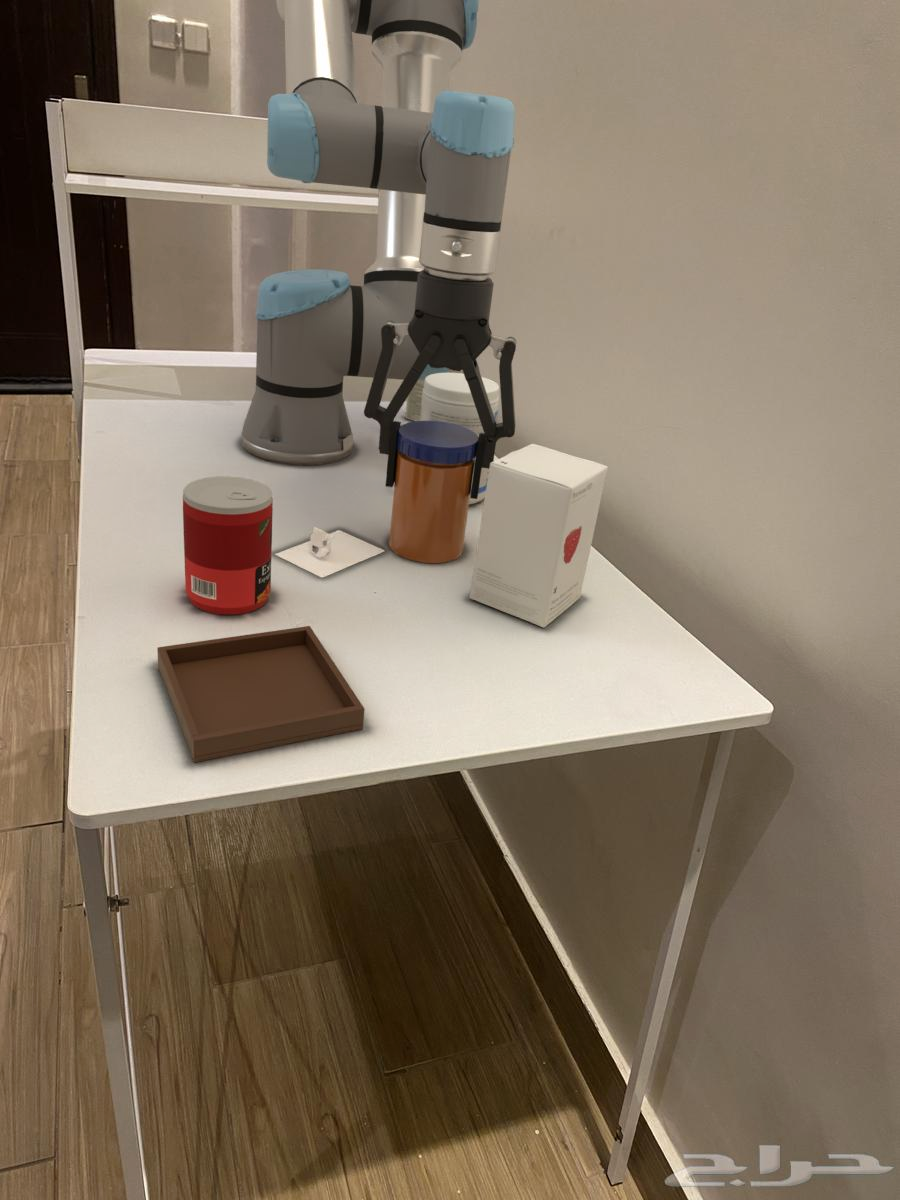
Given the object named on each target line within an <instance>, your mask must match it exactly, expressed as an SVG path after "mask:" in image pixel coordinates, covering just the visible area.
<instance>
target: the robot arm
mask: <svg viewBox="0 0 900 1200" xmlns="http://www.w3.org/2000/svg"><path fill="white" fill-rule="evenodd" d="M479 2H480V1H479V0H275V5H276V8H277V12H278V14H279V17H280V19H281V22H282V23H283V24H284V54H285V55H284V57H285V58H284V61H285V66H284V67H285V93H276V94H274V95H271V97H270V98H269V100H268V102H267V136H266V137H267V138H266V139H267V140H266V141H267V143H266V145H267V146H266V147H267V151H266V155H267V156H266V158H267V159H266V165H267V169H268V171H269V172H270V174H271V175H273V176H275V177H278V178H282V179H286V180H287V179H288V180H292V181H293V180H294V181H299V182H302V183H303V184H312V183H313V184H324V185H333V186H344V187H353V188H354V187H355V188H365V189H372V190H373V189H374V190H378V194H377V195H378V197H377V198H378V199H377V227H376V251H375V253H376V254H375V261H374V262H373V263H372V264H371V265H370V266H369V267H368V268H367V269H366V270H365V271H364V273H363V285H353V284H352V285H351V280H350V276H349V274H347V273H346V272H344V271H340V270H331V269H330V270H329V269H325V268H324V269H323V268H322V269H319V268H318V269H317V268H316V269H315V268H313V269H312V268H311V269H310V268H309V269H297V270H288V271H282V272H278V273H277V272H276V273H274V274H271V275H269V276H267V277H265V278H264V279H263V280H262V281H261V282H260V283H259V286H258V290H257V305H256V310H255V314H254V317H255V319H256V322H257V325H256V356H255V357H256V359H255V363H256V364H255V390H254V394H253V397H252V399H251V402H250V405H249V407H248V410H247V413H246V416H245V419H244V422H243V425H242V430H241V445H242V447H243V448H244V449H245V451H247V452H248V453H249V454H252V455H253V456H256V457H257V458H261V459H264V460H267V461H271V462H276V463H280V464H281V463H282V464H288V465H301V466H302V465H303V466H306V465H311V466H312V465H323V464H331V463H334V462H338V461H342V460H343V459H346V458H347V457H349V456H350V455H351V454H352V452H353V445H354V436H353V435H354V434H353V432H352V427H351V424H350V420H349V416H348V412H347V409H346V408H347V407H346V403H345V400H344V397H343V396H344V394H343V393H344V390H343V389H344V377H357V378H372V381H371V386H370V388H369V392H368V395H367V398H366V399H367V400H366V403H365V406H364V410H363V416H364V417H365V418H367V419H372V420H374V421H376V422H377V423H378V424H379V437H378V438H379V439H378V452H379V454H380V455H387V464H386V476H385V487H389V488H394V483H395V472H396V461H397V451H398V448H397V439H398V429H399V427H400V426H401V425H402V421H397V420H395V418H396V417H397V415H398V413H399V412H400V410H401V409H402V407H403V405H404V404H405V402H406V401H407V397H408V395H409V394H410V392H411V390H412V389H413V387H414V386H415V384H416V382H417V381H418V380H425V378H426V377H427V376H429V375H431V374H436V373H447V372H448V370H449V369H450V371H454V372H461V371H462V373H463V374H464V376H465V379H466V381H467V383H468V386H469V389H470V392H471V395H472V398H473V401H474V404H475V407H476V410H477V413H478V416H479V419H480V422H481V425H482V428H483V431H484V433H479V438H478V444H477V451H476V459H475V466H474V474H473V481H472V489H471V496H470V498H473V499H477V497H478V491H479V484H480V477H481V470H482V468H488V469H489V468H490V463H491V462H493V461H495V460H494V459H495V452H496V446H497V442H498V441H499V440H500V439H503V438H508V439H509V438H512V437H514V436H515V434H516V433H515V432H516V415H515V414H516V412H515V411H516V410H515V395H514V378H513V360H514V356H515V352H516V350H517V339H516V338H515V337H513V336H507V337H503V336H500V335H496V334H494V333H493V332H492V329H491V328H490V316H491V308H492V302H493V301H492V300H493V292H494V285H495V284H494V282H493V279H491V277H490V276H491V275H493V274H494V273H495V272H496V270H497V262H498V254H499V247H500V240H501V232H502V229H501V228H502V220H503V213H504V206H505V198H506V191H507V184H508V177H509V169H510V162H511V156H512V155H511V154H512V150H513V147H514V146H515V137H514V130H515V117H516V116H515V115H516V114H515V112H516V110H515V105H514V104H513V103H512V101H511V100H510V99H508V98H505V97H502V96H501V97H500V96H494V95H488V94H480V93H472V92H464V91H457V90H456V91H455V90H449V86H450V85H449V84H450V72H451V71H452V70H453V69H455V67H457V65H459V63H460V62H461V61H462V58H463V51H464V50H466V49H469V48H471V46H472V44H473V43H474V40H475V37H476V32H477V27H478V12H479ZM353 33H355V34H358V35H365V36H370V37H371V48H370V49H371V53H372V56H373V57H374V59H375V60H376V61H377V62H378V63H379V64H380V66H381V67H382V80H381V81H382V83H381V105H373V104H365V103H360V99H359V89H358V80H357V79H358V78H357V71H356V61H355V59H356V58H355V50H354V41H353ZM488 347H490V348H492V350H493V357H494V358H495V359H496V360H499V364H498V365H499V366H498V374H499V375H498V376H499V391H500V403H501V404H500V405H501V416H502V417H501V419H502V421H501V422H498V423H497V422H496V421H495V418H494V415H493V411H492V408H491V405H490V402H489V399H488V396H487V393H486V390H485V387H484V384H483V381H482V378H481V377H482V375H481V370H480V367H479V363H478V361H477V358H478V357H480V355H481V354H482V353H484V352H485V350H486V349H487V348H488ZM388 380H402V382H401V383H400V385H399V387H398V389H397V391H396V392H395V394H394V396H393V397H392V399H391V400H390V402H389V403H388V405H387V407H384V406H382V405H381V401H382V399H383V395H384V391H385V388H386V385H387V383H388V382H387V381H388Z"/></svg>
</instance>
